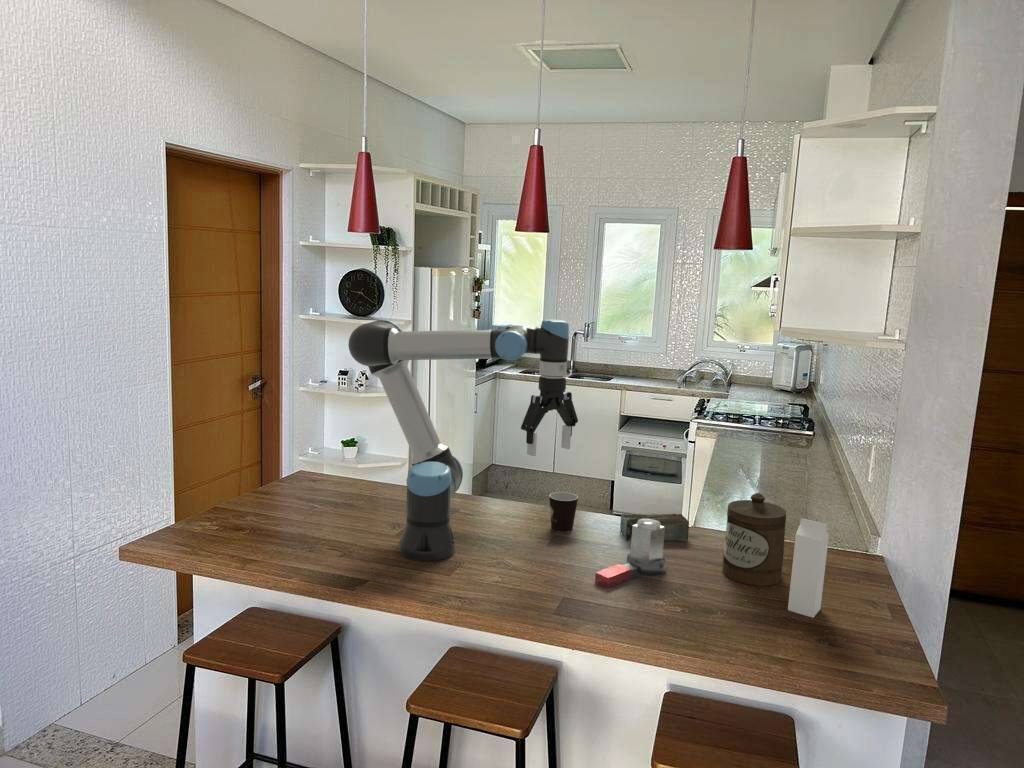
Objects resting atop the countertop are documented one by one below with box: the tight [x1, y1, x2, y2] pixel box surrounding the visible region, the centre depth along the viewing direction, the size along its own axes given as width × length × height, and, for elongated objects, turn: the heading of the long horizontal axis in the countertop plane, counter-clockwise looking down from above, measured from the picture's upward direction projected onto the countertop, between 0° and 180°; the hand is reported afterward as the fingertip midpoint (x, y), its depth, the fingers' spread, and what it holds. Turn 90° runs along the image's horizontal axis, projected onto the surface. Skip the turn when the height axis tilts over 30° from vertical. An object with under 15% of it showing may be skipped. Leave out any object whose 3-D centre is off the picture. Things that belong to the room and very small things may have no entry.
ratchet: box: [594, 552, 667, 589], centre depth 196 cm, size 23×10×6 cm, turn 133°
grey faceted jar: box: [629, 519, 665, 565], centre depth 200 cm, size 6×6×10 cm
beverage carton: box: [619, 513, 690, 542], centre depth 224 cm, size 8×19×7 cm, turn 95°
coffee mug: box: [548, 491, 579, 533], centre depth 229 cm, size 12×9×10 cm
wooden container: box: [721, 492, 787, 587], centre depth 198 cm, size 15×15×22 cm
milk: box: [787, 518, 830, 618], centre depth 178 cm, size 6×6×22 cm
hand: (548, 451), depth 212 cm, fingers open, 13 cm apart
